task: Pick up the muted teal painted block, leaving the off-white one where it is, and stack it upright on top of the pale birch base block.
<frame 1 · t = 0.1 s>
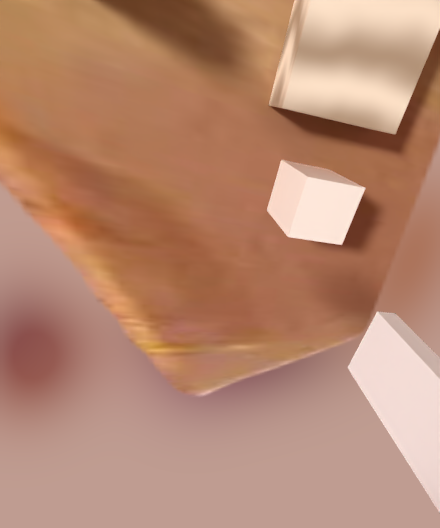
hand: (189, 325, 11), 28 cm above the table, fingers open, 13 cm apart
off-white block: (297, 190, 39), on the table
birch base: (340, 53, 33), on the table
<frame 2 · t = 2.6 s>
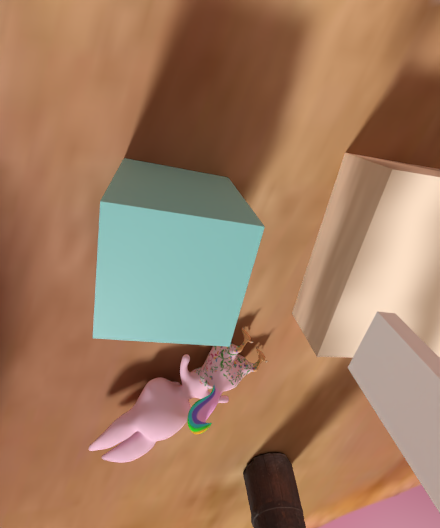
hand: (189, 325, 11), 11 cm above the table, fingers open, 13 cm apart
teal block: (170, 216, 20), on the table
pink animal figurine: (175, 378, 27), on the table
butter churn: (260, 460, 34), on the table
birch base: (387, 248, 24), on the table
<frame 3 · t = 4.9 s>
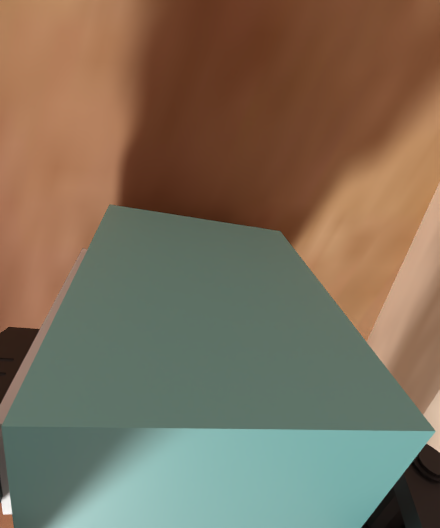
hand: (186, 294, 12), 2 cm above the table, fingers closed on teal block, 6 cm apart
teal block: (185, 291, 13), point 2 cm above the table, touching gripper
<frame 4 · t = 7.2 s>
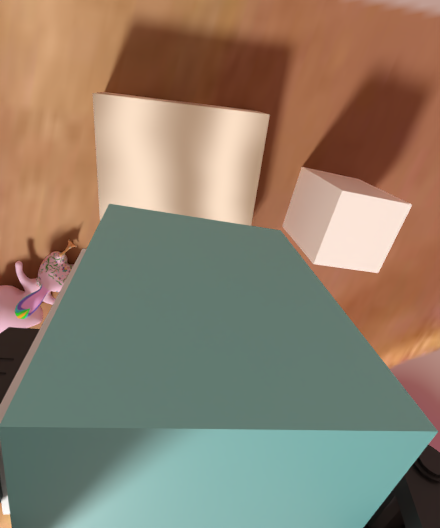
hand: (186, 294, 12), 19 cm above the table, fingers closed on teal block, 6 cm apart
off-white block: (319, 203, 32), on the table
teal block: (185, 290, 13), point 19 cm above the table, touching gripper
pink animal figurine: (31, 290, 33), on the table
birch base: (178, 175, 29), on the table
when the fingers open (6 cm above the table, at t = 9.9 s): teal block drops 1 cm, resting on birch base.
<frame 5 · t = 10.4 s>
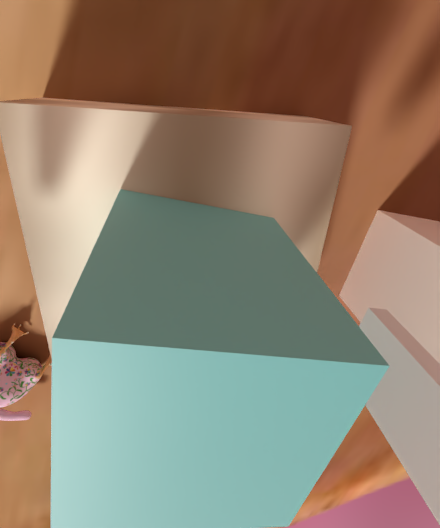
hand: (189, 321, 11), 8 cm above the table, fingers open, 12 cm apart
off-white block: (397, 261, 21), on the table
teal block: (186, 271, 14), point 5 cm above the table, touching birch base
birch base: (180, 226, 18), on the table, touching teal block
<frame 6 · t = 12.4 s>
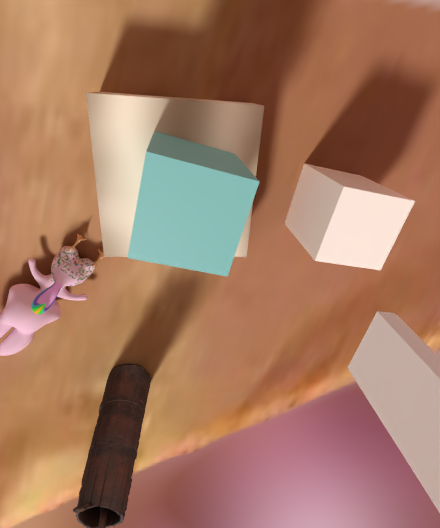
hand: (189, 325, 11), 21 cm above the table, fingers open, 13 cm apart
off-white block: (322, 200, 32), on the table
teal block: (186, 182, 25), point 5 cm above the table, touching birch base
pink animal figurine: (47, 287, 33), on the table
butter churn: (122, 373, 40), on the table
birch base: (177, 172, 29), on the table, touching teal block
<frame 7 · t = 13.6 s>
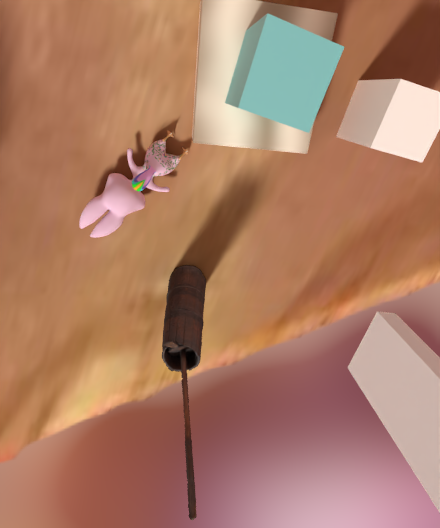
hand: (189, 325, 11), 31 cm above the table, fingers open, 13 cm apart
off-white block: (369, 116, 38), on the table
teal block: (264, 79, 31), point 5 cm above the table
pink animal figurine: (133, 182, 39), on the table
butter churn: (182, 275, 45), on the table
birch base: (251, 82, 35), on the table
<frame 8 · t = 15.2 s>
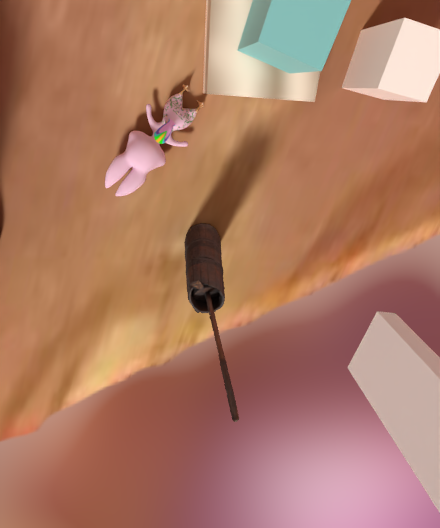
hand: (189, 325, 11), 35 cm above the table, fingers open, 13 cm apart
off-white block: (372, 66, 40), on the table
teal block: (275, 28, 32), point 5 cm above the table
pink animal figurine: (152, 141, 41), on the table
butter churn: (197, 234, 47), on the table
birch base: (257, 36, 37), on the table
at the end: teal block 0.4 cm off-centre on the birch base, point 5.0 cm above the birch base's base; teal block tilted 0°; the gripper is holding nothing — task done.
